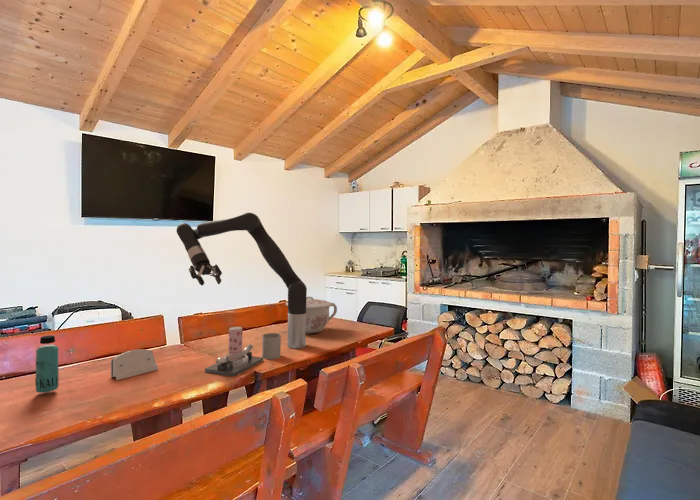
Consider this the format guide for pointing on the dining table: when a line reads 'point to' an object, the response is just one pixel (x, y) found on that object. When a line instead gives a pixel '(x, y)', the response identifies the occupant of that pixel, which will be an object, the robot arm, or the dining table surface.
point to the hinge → (133, 363)
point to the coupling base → (234, 369)
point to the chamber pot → (317, 314)
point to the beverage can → (235, 343)
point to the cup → (271, 346)
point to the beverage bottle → (46, 366)
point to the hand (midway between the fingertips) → (211, 283)
